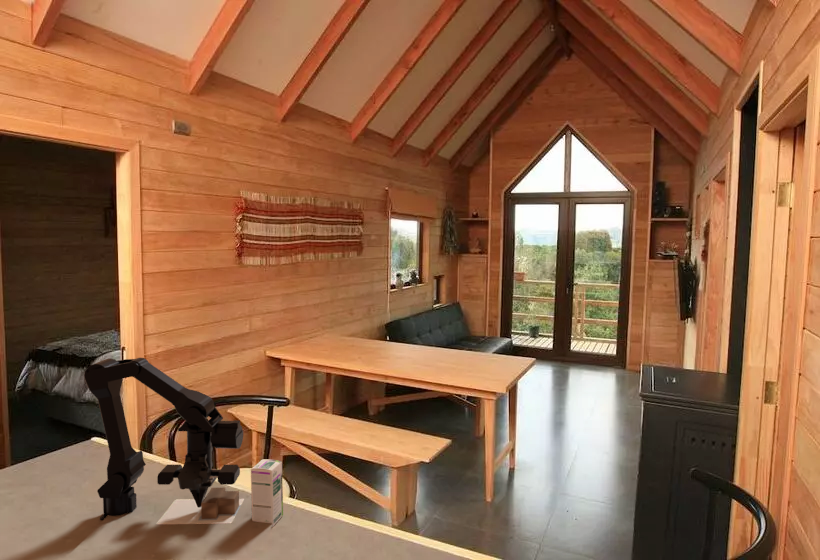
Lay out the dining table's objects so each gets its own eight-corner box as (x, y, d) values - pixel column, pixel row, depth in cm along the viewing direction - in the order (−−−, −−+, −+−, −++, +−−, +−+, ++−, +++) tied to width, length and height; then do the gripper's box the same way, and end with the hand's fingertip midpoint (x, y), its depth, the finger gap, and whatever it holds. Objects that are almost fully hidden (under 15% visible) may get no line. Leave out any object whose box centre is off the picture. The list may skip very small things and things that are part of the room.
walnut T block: (201, 518, 129) (201, 503, 128) (212, 502, 137) (211, 487, 136) (232, 518, 129) (232, 502, 129) (241, 502, 137) (240, 487, 137)
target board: (155, 528, 126) (155, 524, 126) (175, 503, 138) (175, 499, 138) (231, 527, 127) (231, 523, 127) (244, 502, 139) (244, 498, 139)
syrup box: (273, 527, 127) (272, 470, 126) (250, 524, 128) (250, 467, 127) (283, 515, 133) (283, 460, 131) (262, 512, 134) (261, 458, 133)
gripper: (146, 460, 123) (147, 524, 124) (227, 460, 124) (227, 523, 125) (166, 442, 134) (167, 500, 135) (240, 442, 135) (240, 500, 136)
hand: (199, 506), depth 132 cm, fingers closed
